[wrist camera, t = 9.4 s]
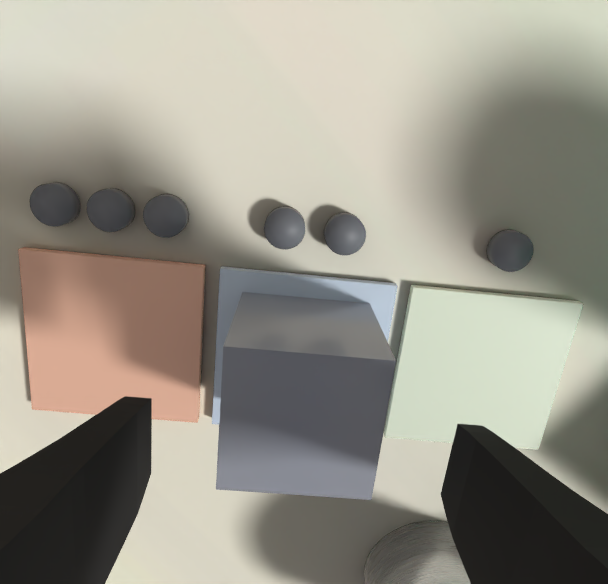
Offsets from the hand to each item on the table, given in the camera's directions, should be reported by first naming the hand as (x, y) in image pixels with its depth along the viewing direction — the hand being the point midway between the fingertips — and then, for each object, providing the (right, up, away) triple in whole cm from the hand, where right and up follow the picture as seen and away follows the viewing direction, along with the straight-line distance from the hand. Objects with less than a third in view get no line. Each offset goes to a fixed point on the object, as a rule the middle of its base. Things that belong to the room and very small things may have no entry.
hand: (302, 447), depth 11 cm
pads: (0, +3, +4) cm, 5 cm away
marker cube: (0, +2, +4) cm, 5 cm away
